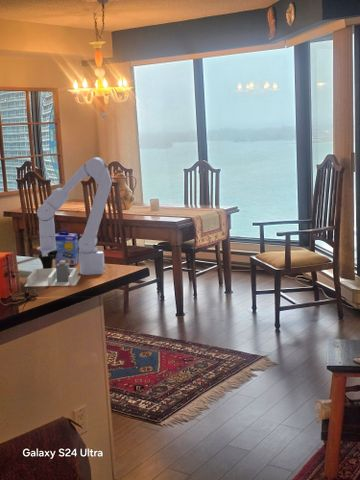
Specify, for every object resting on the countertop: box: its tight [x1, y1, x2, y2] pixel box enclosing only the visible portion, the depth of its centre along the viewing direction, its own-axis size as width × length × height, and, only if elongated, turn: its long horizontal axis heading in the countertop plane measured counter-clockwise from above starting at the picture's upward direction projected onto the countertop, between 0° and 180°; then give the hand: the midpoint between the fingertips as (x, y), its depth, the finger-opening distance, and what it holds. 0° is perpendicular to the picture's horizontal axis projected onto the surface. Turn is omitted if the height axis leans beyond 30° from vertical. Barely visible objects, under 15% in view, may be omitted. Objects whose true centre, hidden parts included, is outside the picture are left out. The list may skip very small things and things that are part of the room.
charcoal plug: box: [55, 260, 70, 282], centre depth 228 cm, size 4×4×7 cm
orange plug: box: [42, 259, 56, 269], centre depth 240 cm, size 4×4×7 cm
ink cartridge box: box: [55, 229, 79, 266], centre depth 259 cm, size 10×6×14 cm, turn 87°
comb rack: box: [23, 267, 82, 287], centre depth 228 cm, size 18×14×4 cm
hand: (49, 271), depth 240 cm, fingers open, 5 cm apart
